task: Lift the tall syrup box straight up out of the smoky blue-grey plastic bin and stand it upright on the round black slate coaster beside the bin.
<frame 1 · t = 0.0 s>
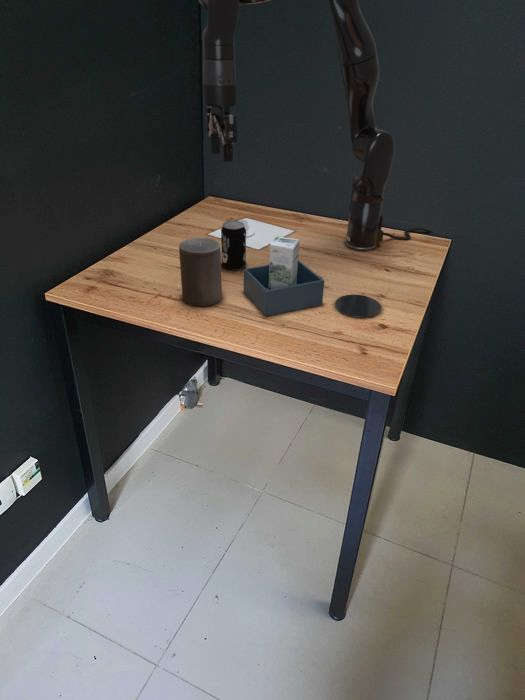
hand: (221, 157, 122), 29 cm above the table, tool pointing down, fingers open, 8 cm apart
coaster: (357, 306, 121), on the table
pillar candle: (202, 297, 124), on the table
syrup box: (282, 297, 124), resting on bin
bin: (282, 298, 124), on the table
beverage can: (233, 267, 139), on the table
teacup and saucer: (251, 233, 161), on the table
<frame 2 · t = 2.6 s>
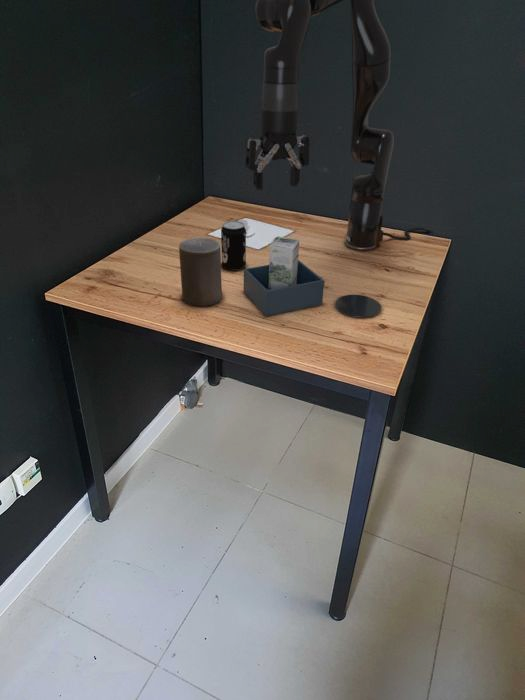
hand: (276, 187, 111), 26 cm above the table, tool pointing down, fingers open, 8 cm apart
nothing on the table moved.
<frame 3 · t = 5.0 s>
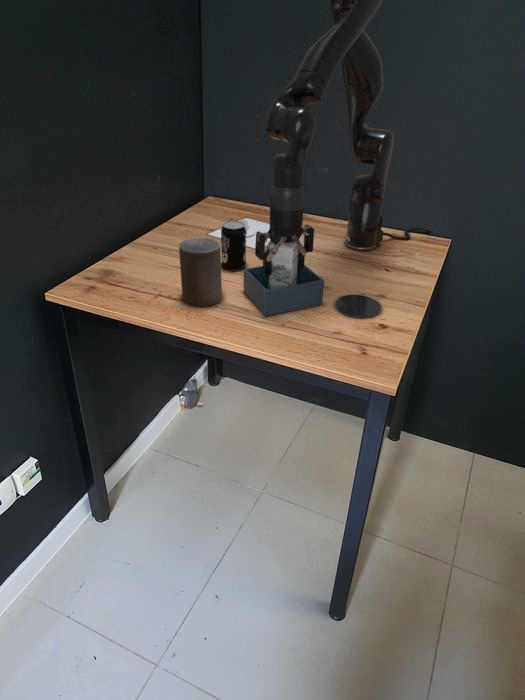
hand: (283, 271, 120), 7 cm above the table, tool pointing down, fingers closed on syrup box, 8 cm apart
syrup box: (282, 297, 124), resting on bin, touching gripper
everything else where it was.
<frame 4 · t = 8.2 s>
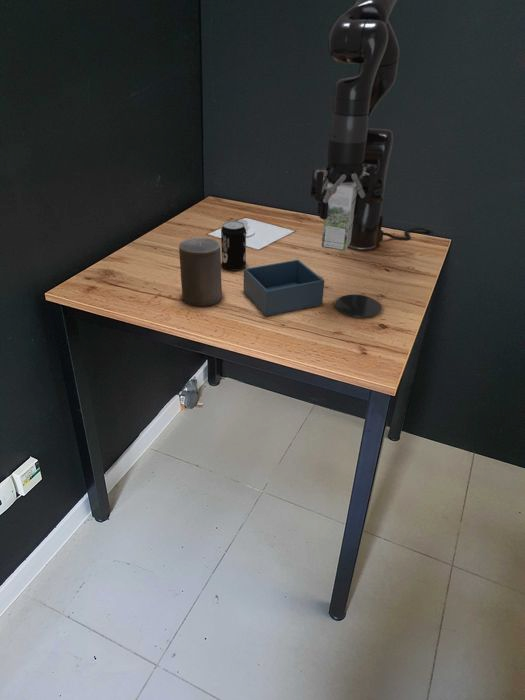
hand: (339, 216, 110), 22 cm above the table, tool pointing down, fingers closed on syrup box, 8 cm apart
syrup box: (335, 246, 114), point 15 cm above the table, touching gripper
everything else where it was.
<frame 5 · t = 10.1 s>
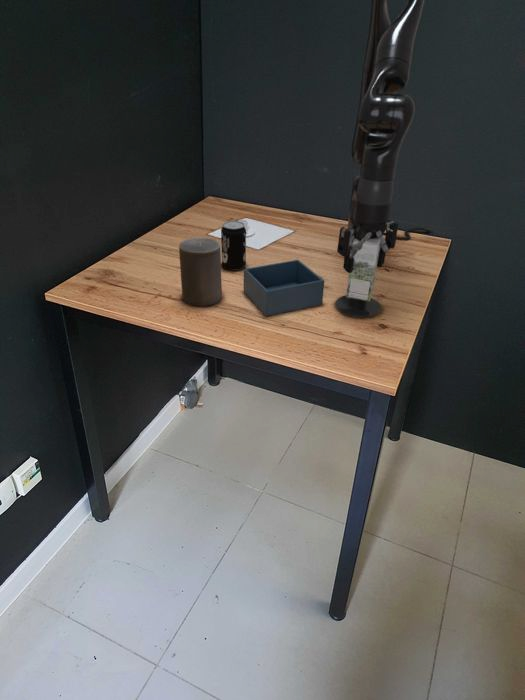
hand: (363, 268, 116), 10 cm above the table, tool pointing down, fingers closed on syrup box, 8 cm apart
syrup box: (359, 295, 119), point 3 cm above the table, touching gripper
everything else where it was.
when the fingers open (7 cm above the table, at t = 11.6 s): syrup box stays where it is, resting on coaster.
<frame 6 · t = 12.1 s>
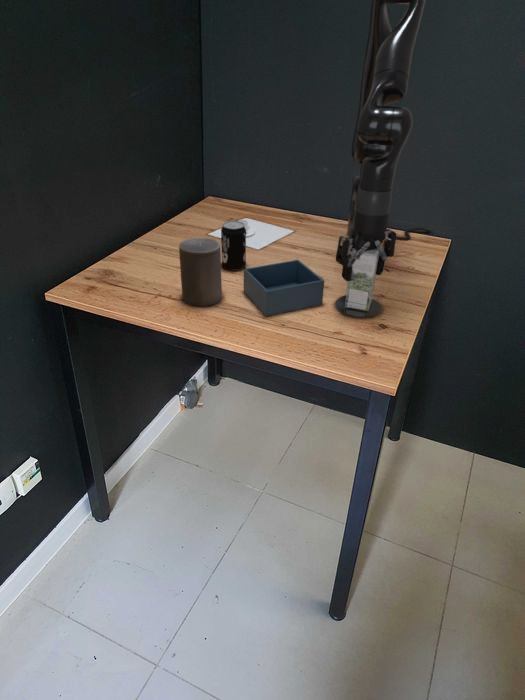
hand: (362, 277, 117), 8 cm above the table, tool pointing down, fingers open, 8 cm apart
syrup box: (358, 305, 121), resting on coaster
everything else where it was.
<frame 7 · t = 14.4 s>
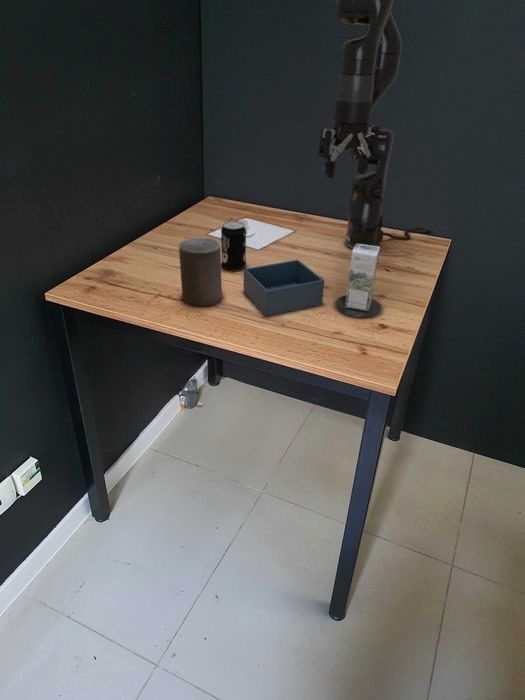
hand: (345, 175, 115), 28 cm above the table, tool pointing down, fingers open, 8 cm apart
nothing on the table moved.
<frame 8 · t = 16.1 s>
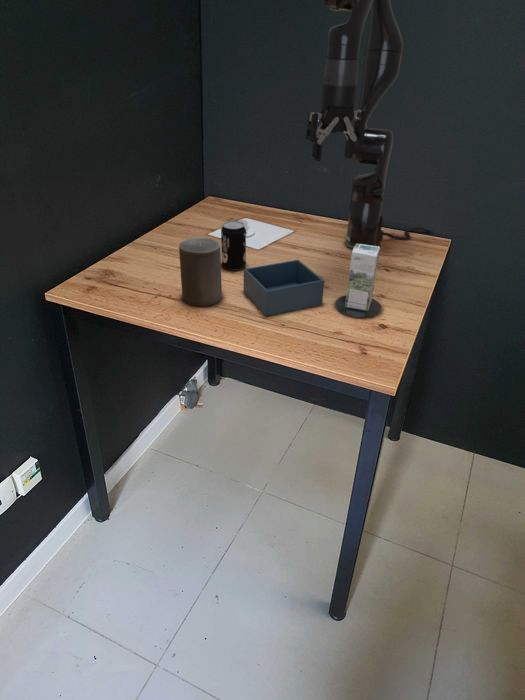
hand: (332, 159, 119), 30 cm above the table, tool pointing down, fingers open, 8 cm apart
nothing on the table moved.
at the end: syrup box inside the target area on the coaster (0.1 cm from its centre), point 0.3 cm above the coaster's base; syrup box tilted 0°; the gripper is holding nothing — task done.
